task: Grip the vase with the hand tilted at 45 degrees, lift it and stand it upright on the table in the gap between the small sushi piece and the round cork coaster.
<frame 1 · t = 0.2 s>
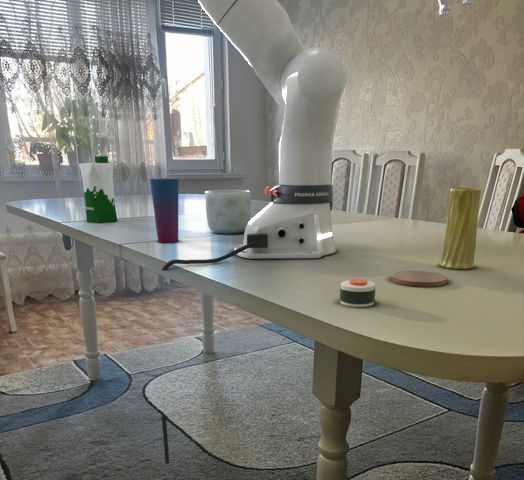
hand: (456, 10, 109), 47 cm above the table, tool pointing down, fingers open, 8 cm apart
cup: (168, 242, 135), on the table
vase: (456, 267, 103), on the table
planter: (228, 233, 150), on the table
coaster: (418, 280, 92), on the table
milk carton: (102, 221, 177), on the table
sushi: (357, 302, 79), on the table
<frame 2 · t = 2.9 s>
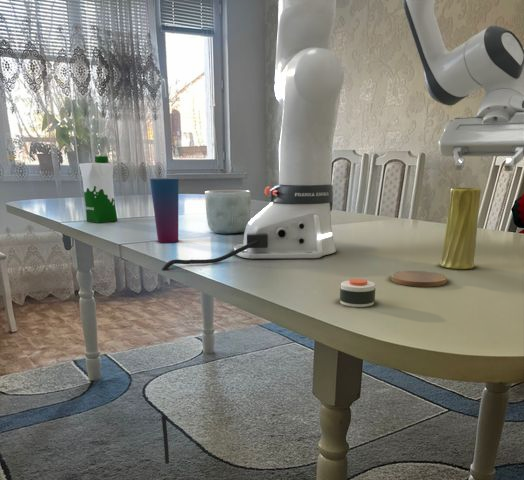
hand: (482, 168, 106), 17 cm above the table, tool tilted 45°, fingers open, 8 cm apart
nothing on the table moved.
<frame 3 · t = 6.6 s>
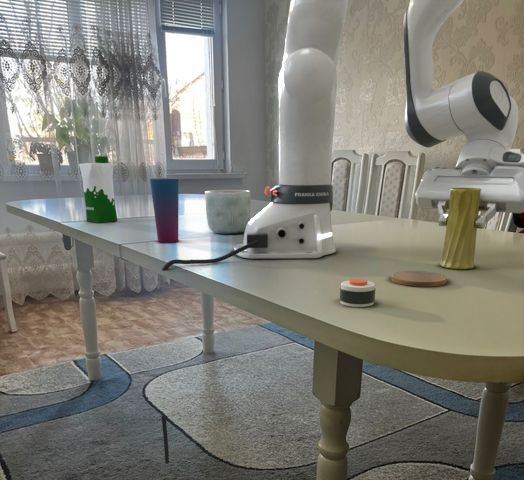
hand: (461, 225, 100), 8 cm above the table, tool tilted 45°, fingers closed on vase, 5 cm apart
vase: (456, 267, 103), on the table, touching gripper
everything else where it was.
when the fingers open (8 cm above the table, at t = 16.2 s): vase stays where it is, on the table.
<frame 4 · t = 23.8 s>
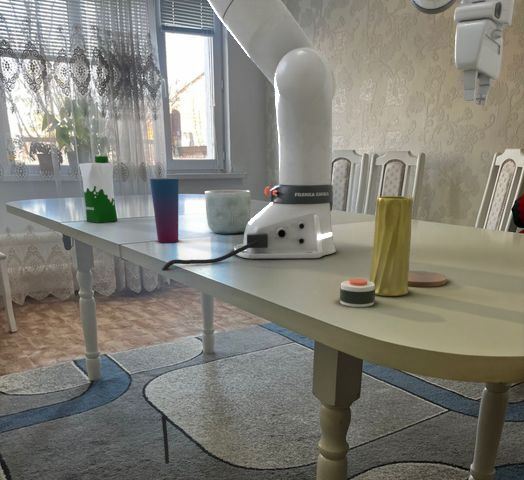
hand: (475, 102, 100), 29 cm above the table, tool pointing down, fingers open, 8 cm apart
vase: (387, 293, 85), on the table
everything else where it was.
at the end: vase 0.1 cm from the target spot on the table beside the sushi, on the table; vase 10.4 cm from the coaster (horizontally); vase tilted 0° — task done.
